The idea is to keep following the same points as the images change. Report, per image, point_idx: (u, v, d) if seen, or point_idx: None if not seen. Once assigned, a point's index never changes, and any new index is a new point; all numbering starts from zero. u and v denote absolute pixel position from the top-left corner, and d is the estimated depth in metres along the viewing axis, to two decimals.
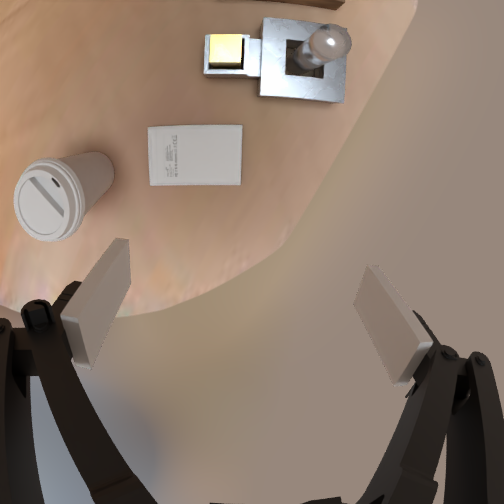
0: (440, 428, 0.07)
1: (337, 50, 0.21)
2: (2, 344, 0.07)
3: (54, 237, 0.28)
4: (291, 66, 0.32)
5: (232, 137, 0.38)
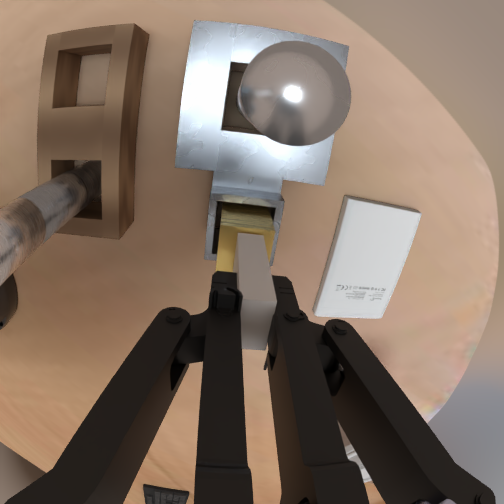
0: (324, 402, 0.08)
1: (329, 87, 0.08)
2: (173, 335, 0.10)
3: None
4: None
5: (362, 214, 0.26)
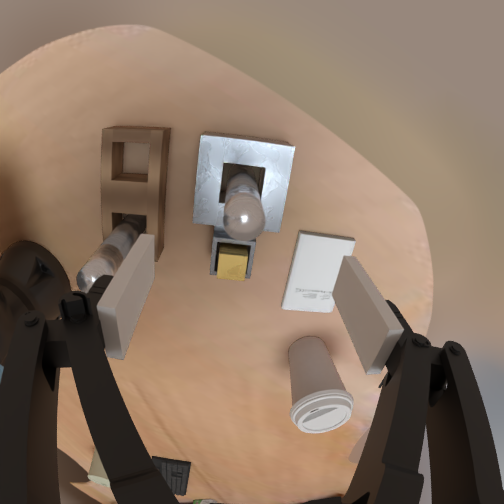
0: (419, 419, 0.07)
1: (256, 218, 0.23)
2: (34, 337, 0.08)
3: (349, 413, 0.38)
4: None
5: (310, 243, 0.41)
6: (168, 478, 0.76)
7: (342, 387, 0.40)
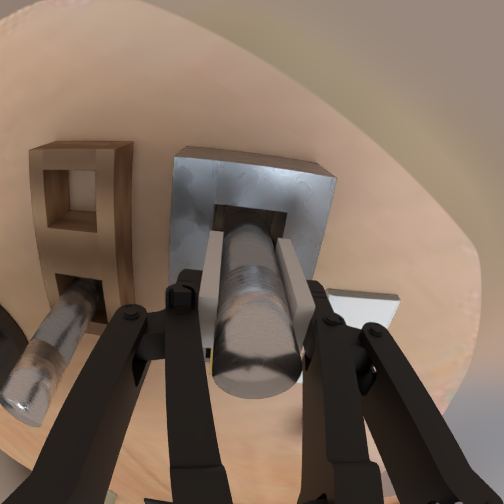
0: (353, 404, 0.08)
1: (284, 367, 0.10)
2: (131, 331, 0.09)
3: None
4: None
5: (341, 307, 0.28)
6: None
7: None
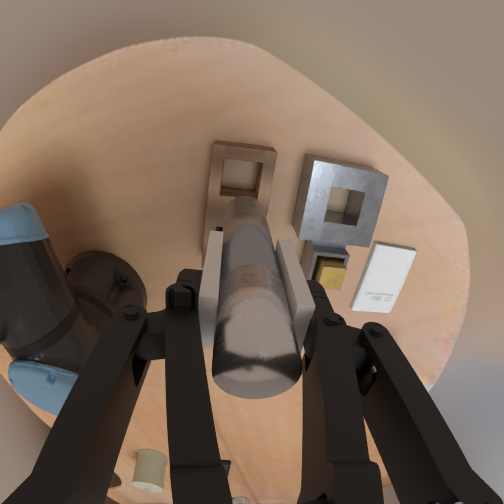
0: (353, 404, 0.08)
1: (284, 367, 0.10)
2: (131, 331, 0.09)
3: None
4: None
5: (383, 252, 0.44)
6: None
7: None
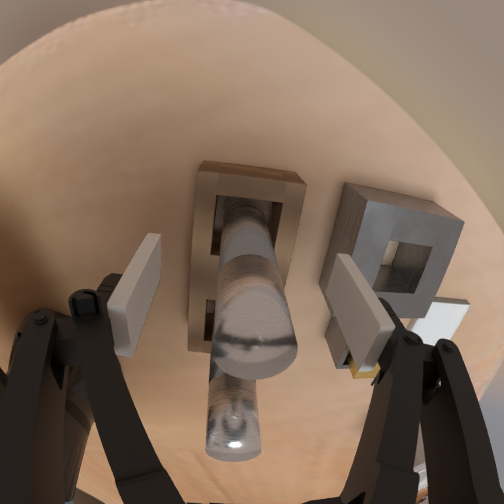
0: (413, 417, 0.07)
1: (280, 347, 0.11)
2: (43, 335, 0.08)
3: None
4: None
5: (433, 310, 0.31)
6: None
7: None
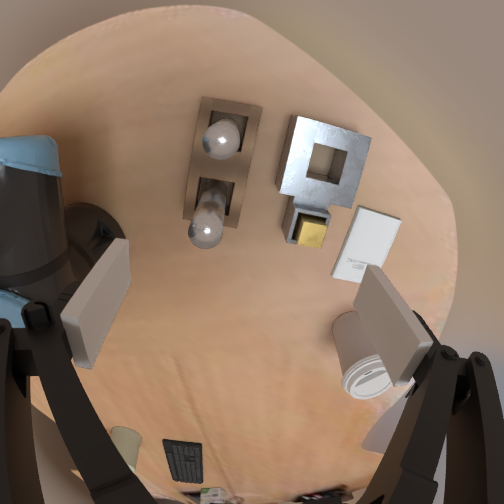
0: (440, 428, 0.07)
1: (231, 139, 0.25)
2: (2, 344, 0.07)
3: None
4: None
5: (366, 217, 0.45)
6: (182, 464, 0.79)
7: None
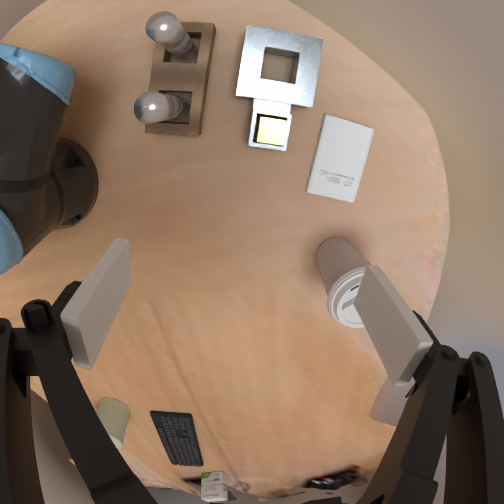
0: (440, 428, 0.07)
1: (170, 22, 0.22)
2: (2, 344, 0.07)
3: None
4: (188, 56, 0.34)
5: (334, 124, 0.41)
6: (176, 441, 0.77)
7: None
